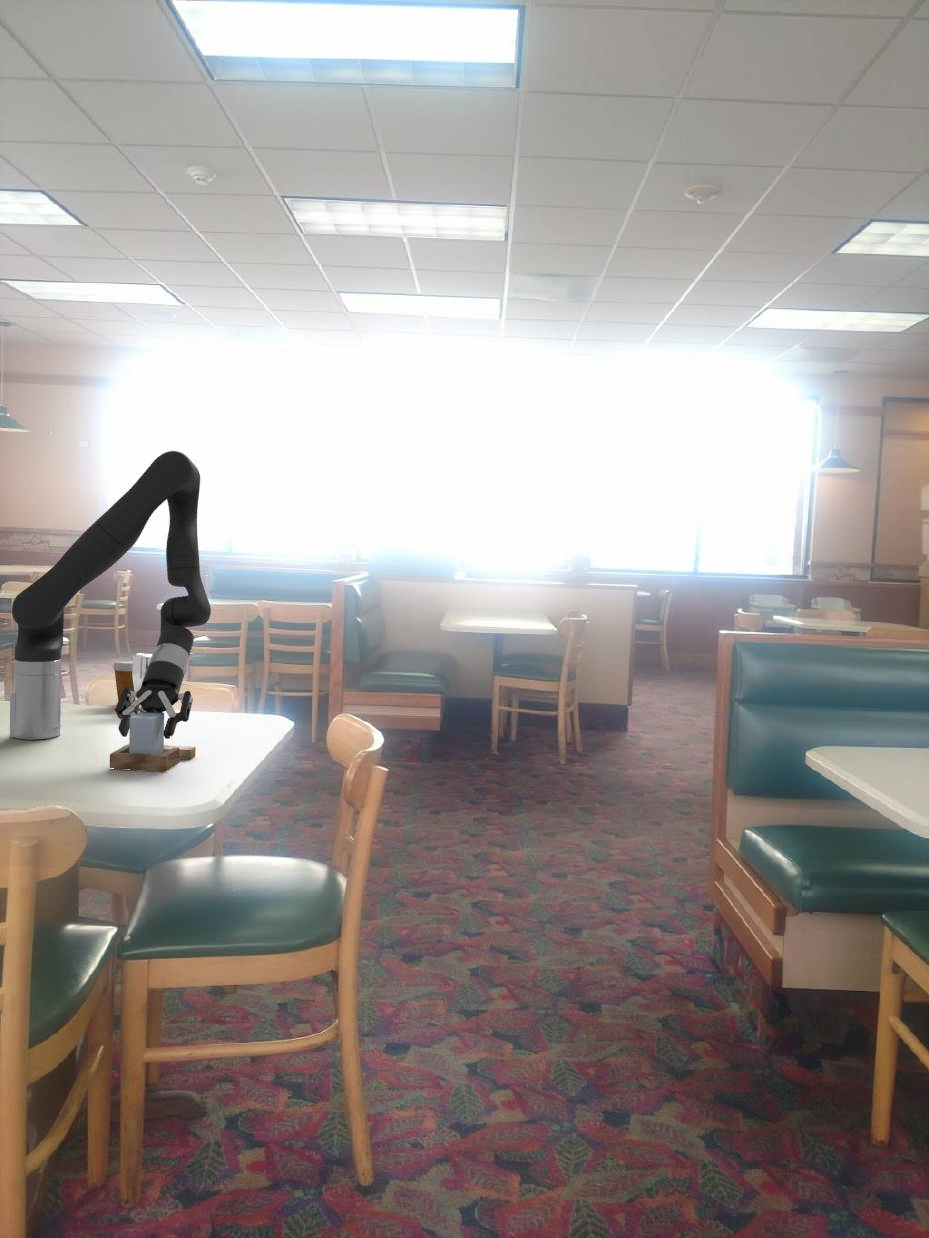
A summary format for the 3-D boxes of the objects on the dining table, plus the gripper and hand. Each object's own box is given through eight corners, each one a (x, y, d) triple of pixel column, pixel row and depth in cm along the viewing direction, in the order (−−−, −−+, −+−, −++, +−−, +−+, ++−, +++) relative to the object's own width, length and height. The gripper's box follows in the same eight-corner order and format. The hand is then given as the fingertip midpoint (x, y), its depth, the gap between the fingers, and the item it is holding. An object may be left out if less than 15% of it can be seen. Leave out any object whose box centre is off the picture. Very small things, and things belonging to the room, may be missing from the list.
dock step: (122, 756, 171) (122, 746, 171) (128, 752, 174) (128, 743, 174) (190, 759, 171) (190, 749, 171) (195, 755, 174) (195, 746, 174)
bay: (109, 769, 161) (109, 754, 160) (125, 759, 168) (125, 745, 168) (165, 771, 161) (166, 756, 161) (179, 762, 168) (179, 747, 168)
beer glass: (164, 712, 217) (165, 655, 216) (138, 715, 212) (139, 657, 211) (152, 708, 222) (153, 652, 221) (126, 710, 217) (127, 654, 216)
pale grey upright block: (128, 767, 162) (129, 717, 162) (142, 760, 169) (143, 711, 168) (151, 769, 162) (152, 718, 162) (164, 761, 169) (165, 712, 168)
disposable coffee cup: (141, 709, 220) (142, 664, 219) (105, 707, 220) (106, 662, 219) (155, 702, 230) (156, 660, 229) (121, 701, 230) (121, 658, 229)
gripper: (127, 657, 171) (102, 723, 161) (196, 660, 171) (176, 726, 161) (137, 679, 177) (113, 744, 166) (203, 682, 177) (184, 747, 166)
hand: (144, 735), depth 164 cm, fingers open, 8 cm apart
